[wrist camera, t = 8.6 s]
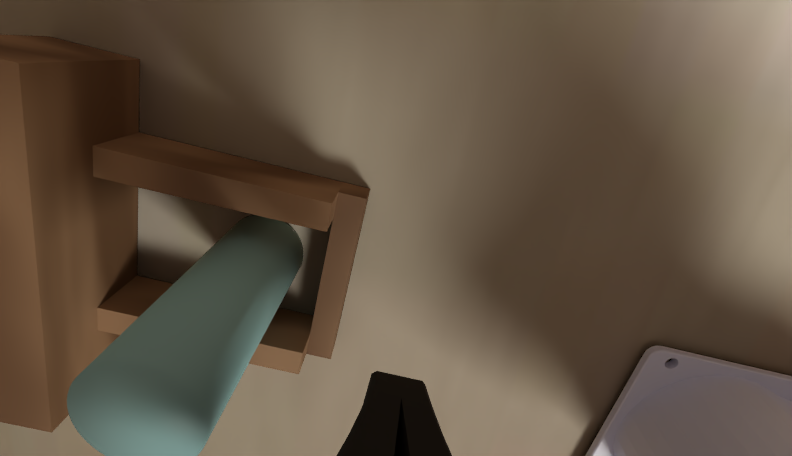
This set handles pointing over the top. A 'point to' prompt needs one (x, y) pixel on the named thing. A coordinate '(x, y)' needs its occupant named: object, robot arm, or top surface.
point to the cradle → (121, 221)
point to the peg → (187, 347)
